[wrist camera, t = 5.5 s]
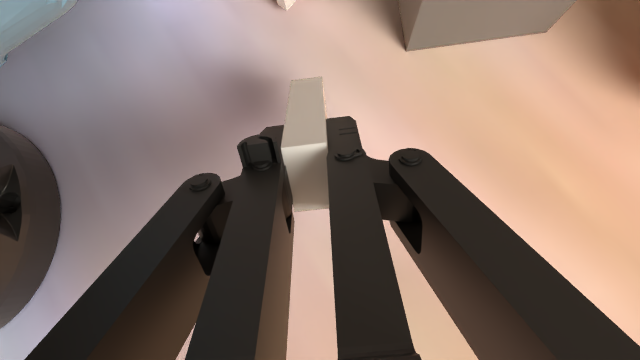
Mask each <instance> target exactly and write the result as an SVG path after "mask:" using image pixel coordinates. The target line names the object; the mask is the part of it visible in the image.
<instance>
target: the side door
mask: <svg viewBox="0 0 640 360" xmlns="http://www.w3.org/2000/svg"><path fill="white" fill-rule="evenodd" d="M295 1H296V0H277V3H278V5H279V6H281V7H282V8H284V9H285V10H286V11H287V10H288V9H289V8H290V7H291V6H292V5H293V3H294V2H295Z"/></svg>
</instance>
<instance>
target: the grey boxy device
mask: <svg viewBox="0 0 640 360" xmlns="http://www.w3.org/2000/svg"><path fill="white" fill-rule="evenodd" d="M575 1H576V0H398V4H399V10H400V16H401V22H402V28H403V34H404V41H405V47H406V51H413V50H420V49H427V48H435V47H442V46H449V45H457V44H464V43H471V42H479V41H486V40H493V39H501V38H508V37H515V36H523V35H530V34H537V33H544V32H547V31H548V30H549V29H550V28H551V26H552V25H553V24H554V23H555V22H556V21H557V20H558V19H559V18H560V17H561V16H562V15H563V14H564V13H565V12H566V11H567V10H568V9H569V8H570V7H571V6H572V5H573V4H574V3H575Z"/></svg>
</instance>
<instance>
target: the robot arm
mask: <svg viewBox="0 0 640 360" xmlns="http://www.w3.org/2000/svg"><path fill="white" fill-rule="evenodd" d="M77 1H78V0H0V67H1V66H2V65H3V64H4V63H5V62H6V61H7V58H8V53H9V52H10V51H11V50H13V49H14V48H16V47H17V46H19V45H20V44H22V43H23V42H25V41H26V40H27V39H29V38H30V37H32V36H33V35H35V34H36V33H38V32H39V31H41V30H42V29H43V28H45V27H46V26H48V25H49V24H51V23H52V22H54V21H55V20H57V19H58V18H60V17H61V16H62V15H64V14H65V13H67V12H68V11H69V10H70V9H71V8H72V7H73V6H74V5H75V4H76V2H77ZM237 149H238V152H239V155H240V159H241V162H242V165H243V169H242V173H241V175H240V176H238V177H236V178H233V179H230V180H227V181H223V182H221V179H220V177H219V176H218V175H217V174H213V173H202V174H199V175H195V176H193V177H192V178H190V179H188V180H187V181H185V182H184V183H183V184H182V185H181V186H180V187H179V188H178V189H177V191H176V192H175V193H174V194H173V195H172V196H171V197H170V198H169V199H168V201H167V202H166V203H165V204H164V205H163V206H162V207H161V208H160V209H159V211H158V212H157V213H156V214H155V215H154V216H153V217H152V218H151V219H150V221H149V222H148V223H147V224H146V225H145V226H144V227H143V228H142V229H141V231H140V232H139V233H138V234H137V235H136V236H135V237H134V238H133V239H132V241H131V242H130V243H129V244H128V245H127V246H126V247H125V248H124V249H123V251H122V252H121V253H120V254H119V255H118V256H117V257H116V258H115V259H114V261H113V262H112V263H111V264H110V265H109V266H108V267H107V268H106V269H105V271H104V272H103V273H102V274H101V275H100V276H99V277H98V278H97V279H96V281H95V282H94V283H93V284H92V285H91V286H90V287H89V288H88V289H87V291H86V292H85V293H84V294H83V295H82V296H81V297H80V298H79V299H78V301H77V302H76V303H75V304H74V305H73V306H72V307H71V308H70V309H69V311H68V312H67V313H66V314H65V315H64V316H63V317H62V318H61V319H60V321H59V322H58V323H57V324H56V325H55V326H54V327H53V328H52V329H51V331H50V332H49V333H48V334H47V335H46V336H45V337H44V338H43V339H42V341H41V342H40V343H39V344H38V345H37V346H36V347H35V348H34V349H33V351H32V352H31V353H30V354H29V355H28V356H27V357H26V358H25V360H175V359H176V358H177V356H178V354H179V352H180V350H181V349H182V347H183V345H184V343H185V341H186V339H187V338H188V336H189V334H190V332H191V330H192V329H193V327H194V325H195V323H196V325H195V328H194V331H193V335H192V338H191V341H190V344H189V348H188V351H187V354H186V358H185V360H286V350H287V334H288V318H289V301H290V285H291V268H292V252H293V236H294V217H293V213H292V204H293V207H294V211H295V212H299V211H308V210H317V209H326V208H329V210H330V227H331V244H332V261H333V278H334V296H335V313H336V330H337V347H338V360H421V357H420V355H419V354H417V353H416V352H415V349H414V346H413V343H412V339H411V335H410V331H409V327H408V323H407V318H406V314H405V310H404V306H403V302H402V298H401V294H400V290H399V286H398V282H397V278H396V274H395V270H394V266H393V262H392V257H391V253H390V249H389V245H388V241H387V237H386V233H385V229H384V225H383V221H382V220H390V224H391V227H392V228H393V230H394V231H395V233H396V234H397V236H398V237H399V239H400V241H401V242H402V244H403V245H404V247H405V248H406V250H407V251H408V253H409V254H410V256H411V257H412V259H413V260H414V262H415V263H416V265H417V266H418V268H419V269H420V271H421V272H422V274H423V276H424V277H425V279H426V280H427V282H428V283H429V285H430V286H431V288H432V289H433V291H434V292H435V294H436V295H437V297H438V298H439V300H440V301H441V303H442V304H443V306H444V307H445V309H446V311H447V312H448V314H449V315H450V317H451V318H452V320H453V321H454V323H455V324H456V326H457V327H458V329H459V330H460V332H461V333H462V335H463V336H464V338H465V339H466V341H467V343H468V344H469V346H470V347H471V349H472V350H473V352H474V353H475V355H476V356H477V358H478V359H479V360H640V346H639V345H638V344H636V343H635V342H634V341H633V340H632V339H631V338H630V337H629V336H628V335H627V334H626V333H624V332H623V331H622V330H621V329H620V328H619V327H618V326H617V325H616V324H615V323H614V322H612V321H611V320H610V319H609V318H608V317H607V316H606V315H605V314H604V313H603V312H602V311H600V310H599V309H598V308H597V307H596V306H595V305H594V304H593V303H592V302H591V301H590V300H588V299H587V298H586V297H585V296H584V295H583V294H582V293H581V292H580V291H579V290H578V289H576V288H575V287H574V286H573V285H572V284H571V283H570V282H569V281H568V280H567V279H565V278H564V277H563V276H562V275H561V274H560V273H559V272H558V271H557V270H556V269H555V268H553V267H552V266H551V265H550V264H549V263H548V262H547V261H546V260H545V259H544V258H543V257H541V256H540V255H539V254H538V253H537V252H536V251H535V250H534V249H533V248H532V247H531V246H529V245H528V244H527V243H526V242H525V241H524V240H523V239H522V238H521V237H520V236H519V235H517V234H516V233H515V232H514V231H513V230H512V229H511V228H510V227H509V226H508V225H506V224H505V223H504V222H503V221H502V220H501V219H500V218H499V217H498V216H497V215H496V214H494V213H493V212H492V211H491V210H490V209H489V208H488V207H487V206H486V205H485V204H484V203H482V202H481V201H480V200H479V199H478V198H477V197H476V196H475V195H474V194H473V193H472V192H470V191H469V190H468V189H467V188H466V187H465V186H464V185H463V184H462V183H461V182H460V181H458V180H457V179H456V178H455V177H454V176H453V175H452V174H451V173H450V172H449V171H448V170H446V169H445V168H444V167H443V166H442V165H441V164H440V163H439V162H438V161H437V160H435V159H434V158H433V157H432V156H431V155H430V154H429V153H427V152H425V151H423V150H419V149H415V148H407V149H401V150H398V151H396V152H394V153H393V154H391V155H390V158H389V161H384V160H376V159H373V158H370V157H368V156H367V155H366V152H365V151H364V149H362V145H361V141H360V137H359V133H358V129H357V125H356V121H355V120H354V119H353V118H351V117H350V116H346V117H338V118H329V119H327V113H326V105H325V97H324V89H323V81H322V77H315V78H308V79H300V80H292V81H291V85H290V91H289V97H288V104H287V110H286V117H285V123H284V125H280V126H272V127H266V128H265V129H264V130H263V131H262V132H261V133H260V135H255V136H251V137H248V138H246V139H244V140H243V141H241V142H240V143H239V144H238V145H237ZM59 229H60V199H59V193H58V188H57V184H56V181H55V178H54V175H53V173H52V171H51V169H50V167H49V165H48V163H47V161H46V160H45V158H44V157H43V155H42V154H41V153H40V151H39V150H38V149H37V148H36V147H35V146H34V145H33V144H32V143H31V142H30V141H29V140H27V139H26V138H25V137H24V136H22V135H20V134H19V133H17V132H15V131H13V130H11V129H9V128H7V127H4V126H1V125H0V329H1V328H2V327H3V326H5V325H6V324H7V323H8V322H9V321H11V320H12V319H13V318H14V317H15V316H16V315H17V314H18V313H19V312H20V311H21V310H22V309H23V308H24V306H25V305H26V304H27V303H28V302H29V300H30V299H31V298H32V296H33V295H34V294H35V292H36V291H37V289H38V288H39V286H40V284H41V282H42V281H43V279H44V277H45V275H46V273H47V271H48V269H49V266H50V264H51V261H52V259H53V256H54V253H55V249H56V245H57V241H58V236H59ZM197 233H198V234H199V236H200V237H199V238H198V239H197V241H196V242H194V238H195V236H196V234H197Z"/></svg>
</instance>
